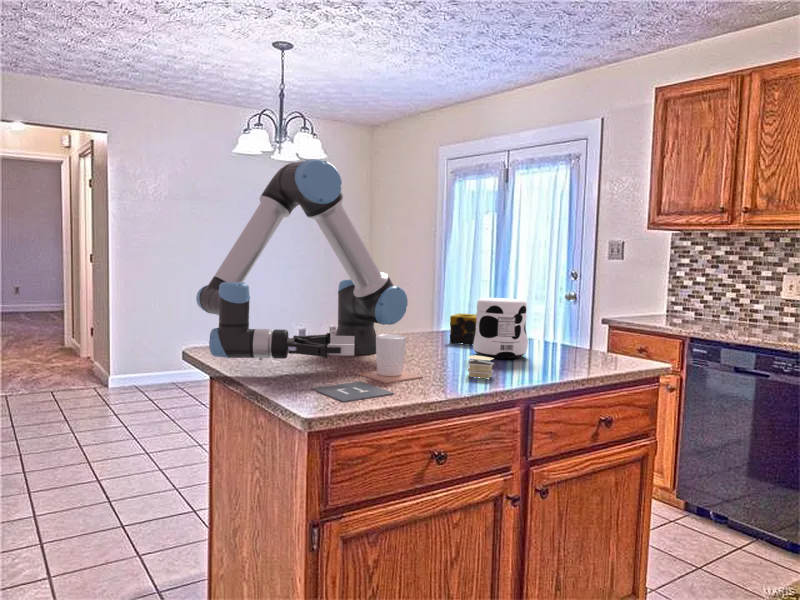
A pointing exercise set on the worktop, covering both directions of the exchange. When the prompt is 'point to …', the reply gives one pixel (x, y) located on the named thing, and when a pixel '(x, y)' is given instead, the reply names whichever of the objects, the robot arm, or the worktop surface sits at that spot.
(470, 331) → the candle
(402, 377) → the coaster
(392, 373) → the white cup
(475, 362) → the stacked layers on plate
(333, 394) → the tile
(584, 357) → the worktop surface
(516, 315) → the milk container
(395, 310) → the robot arm
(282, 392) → the worktop surface
